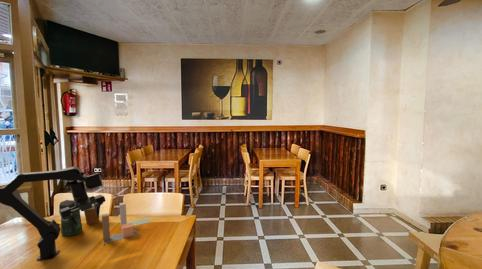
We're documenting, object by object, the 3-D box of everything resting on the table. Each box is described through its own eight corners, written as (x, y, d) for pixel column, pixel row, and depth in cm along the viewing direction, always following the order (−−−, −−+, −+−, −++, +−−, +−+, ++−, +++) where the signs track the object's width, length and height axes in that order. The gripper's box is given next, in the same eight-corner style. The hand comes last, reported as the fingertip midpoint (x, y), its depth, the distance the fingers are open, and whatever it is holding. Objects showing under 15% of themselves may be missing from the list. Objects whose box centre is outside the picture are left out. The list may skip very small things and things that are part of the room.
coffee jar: (85, 230, 138) (83, 198, 137) (73, 237, 131) (70, 203, 129) (70, 228, 140) (68, 197, 138) (58, 235, 132) (55, 202, 131)
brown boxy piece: (103, 245, 122) (102, 218, 121) (103, 239, 128) (101, 213, 127) (137, 236, 130) (136, 211, 129) (136, 231, 136) (135, 207, 135)
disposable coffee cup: (79, 224, 145) (78, 205, 144) (93, 218, 154) (92, 199, 153) (92, 226, 142) (90, 207, 141) (105, 220, 151) (104, 201, 150)
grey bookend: (121, 230, 138) (120, 206, 136) (120, 225, 144) (119, 202, 142) (151, 223, 146) (150, 200, 144) (148, 219, 152) (148, 197, 150)
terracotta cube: (123, 237, 127) (122, 228, 127) (122, 233, 132) (121, 224, 131) (133, 235, 130) (133, 226, 129) (132, 231, 134) (132, 222, 134)
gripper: (59, 204, 106) (69, 236, 109) (105, 187, 119) (112, 216, 122) (54, 198, 114) (64, 229, 116) (98, 184, 127) (105, 211, 129)
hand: (87, 221), depth 121 cm, fingers open, 9 cm apart
